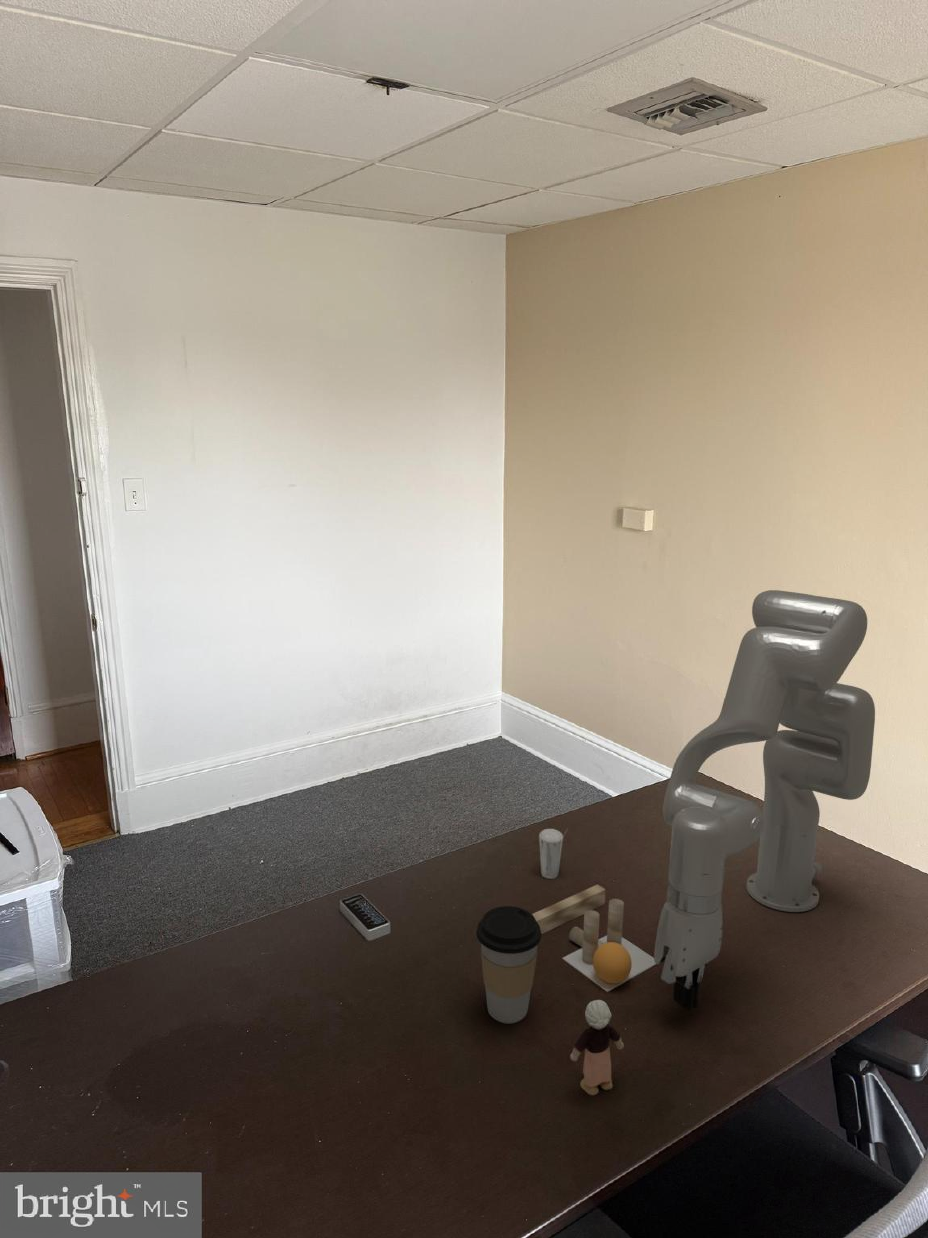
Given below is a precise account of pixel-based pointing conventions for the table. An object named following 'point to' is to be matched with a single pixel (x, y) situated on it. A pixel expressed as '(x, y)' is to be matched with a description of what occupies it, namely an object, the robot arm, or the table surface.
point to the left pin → (590, 936)
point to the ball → (612, 962)
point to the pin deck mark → (639, 965)
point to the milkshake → (550, 852)
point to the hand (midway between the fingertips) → (685, 1003)
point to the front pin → (579, 936)
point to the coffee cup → (508, 960)
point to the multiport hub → (365, 917)
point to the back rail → (570, 908)
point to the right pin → (615, 921)
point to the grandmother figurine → (596, 1048)
